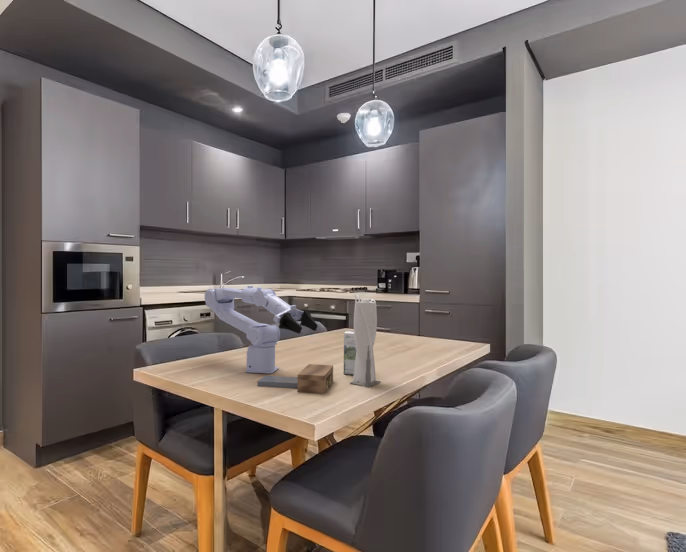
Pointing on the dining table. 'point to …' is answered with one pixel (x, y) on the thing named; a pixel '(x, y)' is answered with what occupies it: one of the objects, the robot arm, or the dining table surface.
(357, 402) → the dining table surface
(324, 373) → the walnut shelf bridge
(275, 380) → the slate tile
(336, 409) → the dining table surface
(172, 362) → the dining table surface
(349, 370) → the syrup box
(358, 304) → the skyscraper
